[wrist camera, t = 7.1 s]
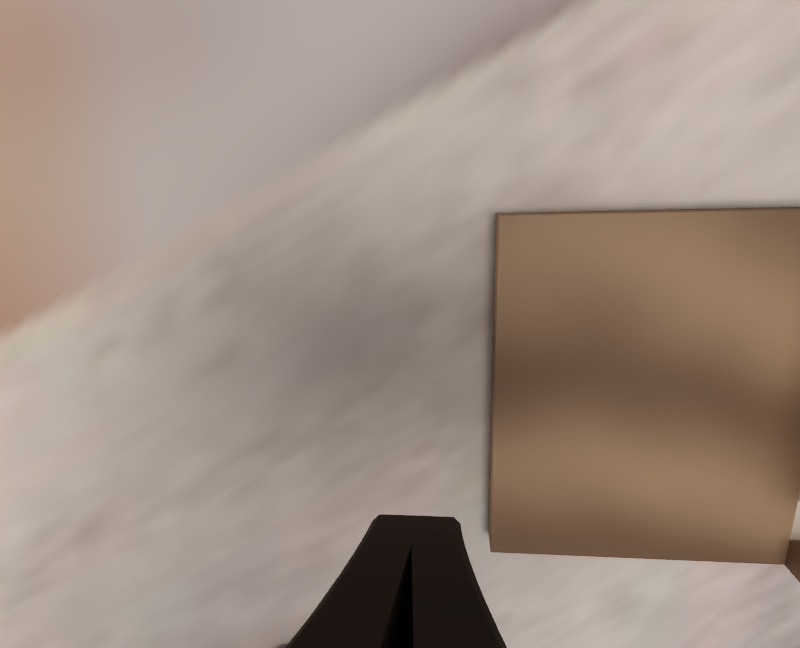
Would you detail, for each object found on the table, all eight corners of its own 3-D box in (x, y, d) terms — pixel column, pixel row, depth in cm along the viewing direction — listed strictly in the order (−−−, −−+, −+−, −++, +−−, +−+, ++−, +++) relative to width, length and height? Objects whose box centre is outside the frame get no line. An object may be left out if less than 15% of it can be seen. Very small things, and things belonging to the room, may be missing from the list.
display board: (1012, 554, 18) (1140, 641, 15) (488, 533, 20) (496, 606, 16) (1138, 200, 15) (1342, 207, 11) (496, 213, 16) (508, 222, 13)
